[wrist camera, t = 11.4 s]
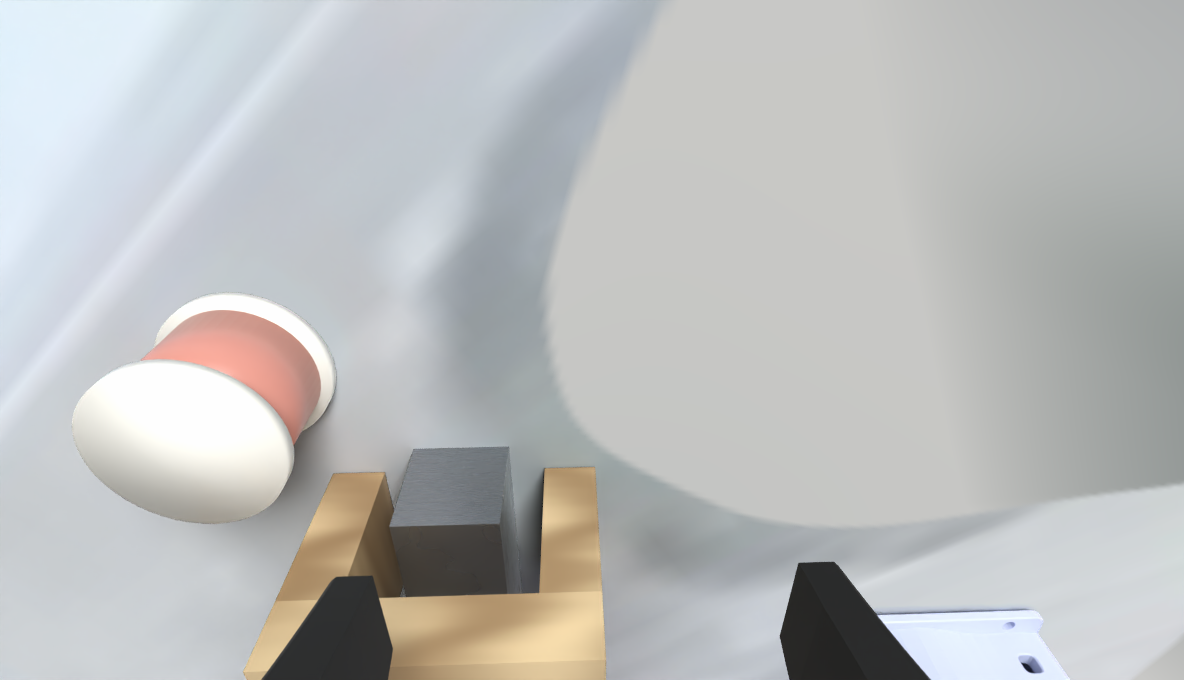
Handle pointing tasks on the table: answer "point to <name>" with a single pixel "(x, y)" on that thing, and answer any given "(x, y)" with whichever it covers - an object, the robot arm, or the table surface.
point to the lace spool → (208, 410)
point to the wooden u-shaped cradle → (456, 623)
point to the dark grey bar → (457, 524)
